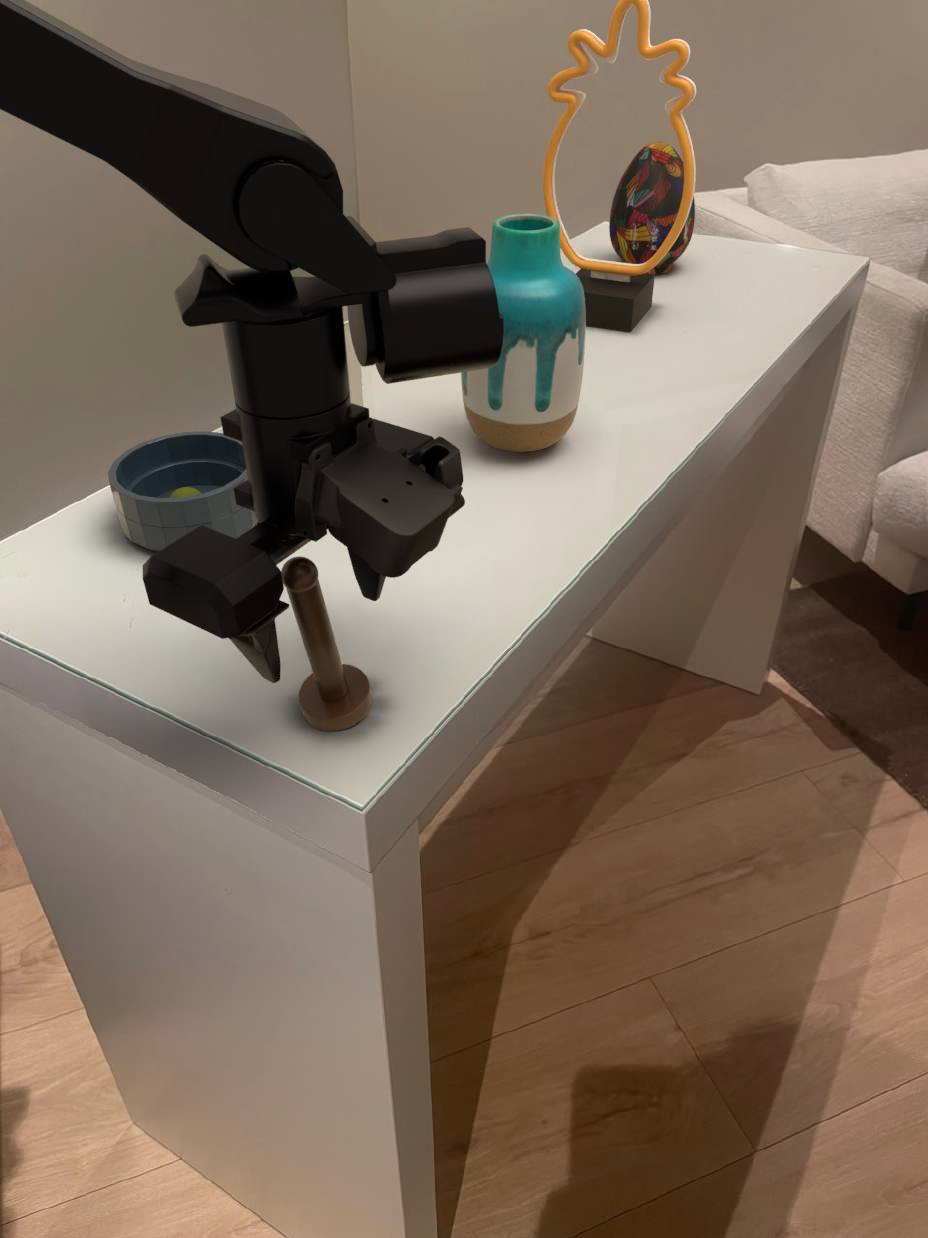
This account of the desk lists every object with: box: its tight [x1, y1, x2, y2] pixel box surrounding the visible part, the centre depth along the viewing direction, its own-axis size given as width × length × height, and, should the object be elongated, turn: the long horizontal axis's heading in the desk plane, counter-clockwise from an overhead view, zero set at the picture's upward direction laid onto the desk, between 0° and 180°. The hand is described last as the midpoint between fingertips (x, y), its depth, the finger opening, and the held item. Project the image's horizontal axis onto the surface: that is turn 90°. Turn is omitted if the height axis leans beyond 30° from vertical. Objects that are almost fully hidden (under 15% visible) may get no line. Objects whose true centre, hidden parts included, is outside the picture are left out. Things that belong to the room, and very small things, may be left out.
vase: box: [460, 213, 587, 453], centre depth 81 cm, size 11×11×19 cm
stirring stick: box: [280, 556, 374, 732], centre depth 55 cm, size 4×4×12 cm
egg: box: [608, 141, 696, 276], centre depth 120 cm, size 11×11×15 cm
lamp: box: [542, 0, 697, 333], centre depth 102 cm, size 17×9×32 cm, turn 66°
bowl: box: [107, 430, 259, 553], centre depth 75 cm, size 11×11×5 cm
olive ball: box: [169, 487, 202, 498], centre depth 74 cm, size 3×3×3 cm
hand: (324, 636), depth 57 cm, fingers open, 9 cm apart
